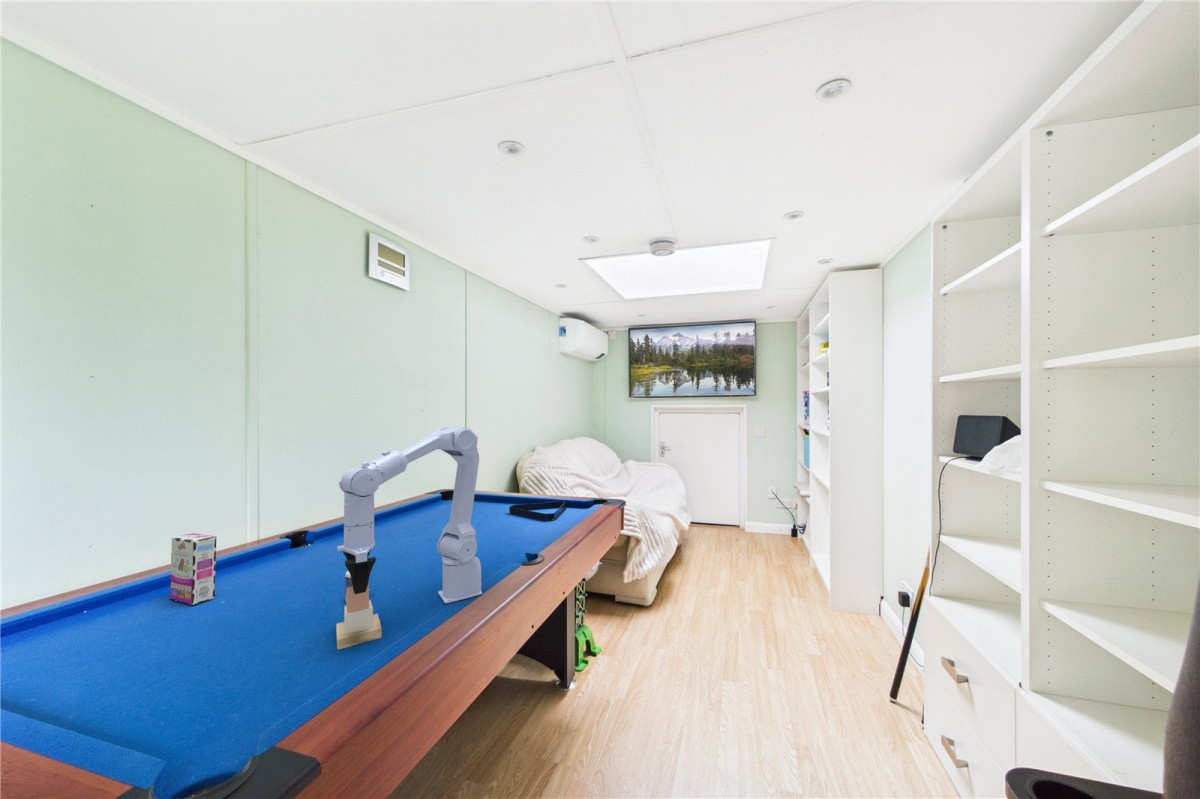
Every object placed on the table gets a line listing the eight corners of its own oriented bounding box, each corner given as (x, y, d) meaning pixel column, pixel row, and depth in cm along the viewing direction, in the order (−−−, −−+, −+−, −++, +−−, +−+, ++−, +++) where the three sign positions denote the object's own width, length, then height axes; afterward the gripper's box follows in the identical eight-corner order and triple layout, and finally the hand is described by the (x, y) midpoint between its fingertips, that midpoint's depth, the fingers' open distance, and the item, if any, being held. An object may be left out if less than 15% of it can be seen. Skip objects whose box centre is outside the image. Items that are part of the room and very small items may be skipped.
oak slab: (377, 622, 95) (377, 613, 95) (381, 637, 88) (381, 628, 88) (336, 633, 90) (336, 623, 90) (337, 649, 84) (337, 639, 84)
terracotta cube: (367, 601, 92) (367, 583, 92) (368, 608, 89) (369, 589, 89) (346, 606, 90) (346, 587, 90) (347, 613, 87) (347, 594, 87)
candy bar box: (216, 598, 109) (217, 535, 110) (192, 606, 104) (193, 541, 105) (193, 592, 113) (194, 532, 114) (168, 600, 109) (170, 537, 109)
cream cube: (370, 617, 93) (370, 599, 93) (372, 627, 89) (372, 608, 89) (344, 624, 90) (344, 605, 90) (345, 634, 86) (345, 614, 86)
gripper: (336, 519, 94) (336, 580, 93) (338, 534, 82) (338, 603, 81) (371, 514, 98) (371, 572, 97) (378, 528, 86) (378, 594, 85)
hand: (358, 586), depth 90 cm, fingers open, 7 cm apart
